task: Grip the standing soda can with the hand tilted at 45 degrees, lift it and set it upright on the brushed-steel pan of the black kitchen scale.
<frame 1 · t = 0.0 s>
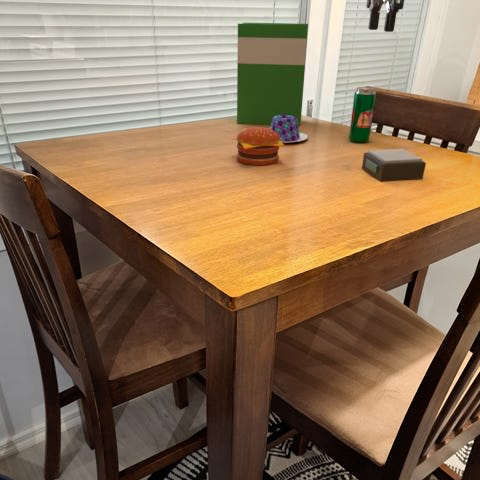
hand: (380, 30, 119), 23 cm above the table, tool pointing down, fingers open, 8 cm apart
soda can: (358, 141, 123), on the table
hamburger: (257, 160, 108), on the table
pudding: (283, 139, 124), on the table
hardback book: (269, 122, 141), on the table
scale: (391, 173, 101), on the table
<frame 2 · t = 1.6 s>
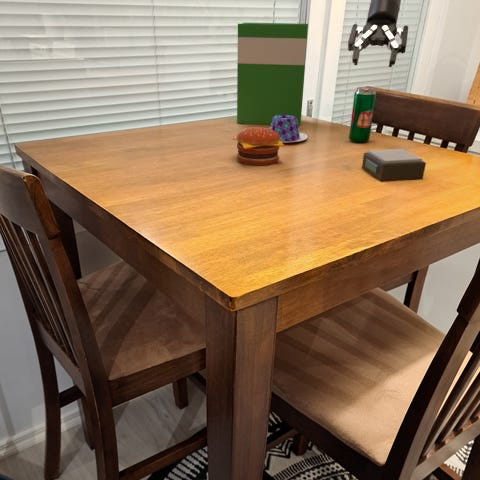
hand: (373, 63, 123), 16 cm above the table, tool tilted 45°, fingers open, 8 cm apart
nothing on the table moved.
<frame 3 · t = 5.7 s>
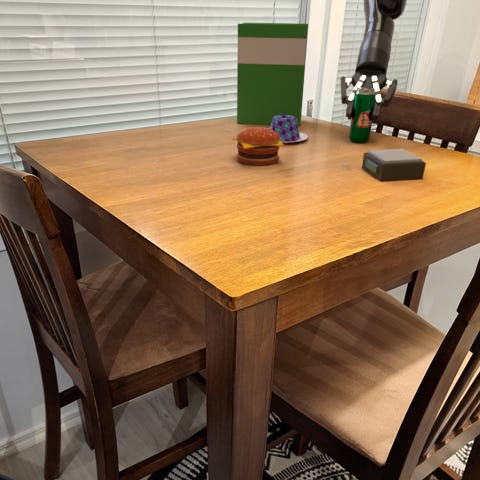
hand: (361, 118, 119), 6 cm above the table, tool tilted 45°, fingers closed on soda can, 5 cm apart
soda can: (358, 141, 123), on the table, touching gripper
everything else where it was.
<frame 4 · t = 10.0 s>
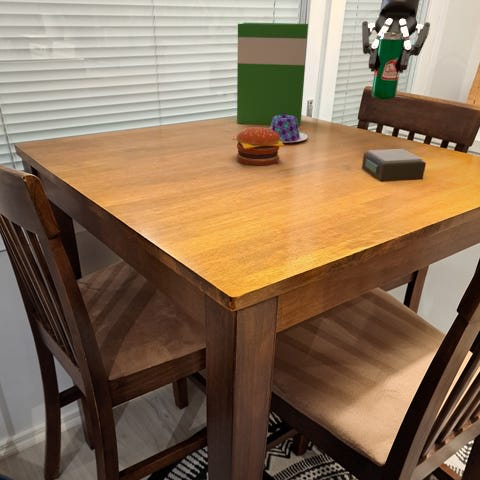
hand: (387, 69, 101), 18 cm above the table, tool tilted 45°, fingers closed on soda can, 5 cm apart
soda can: (383, 98, 105), point 12 cm above the table, touching gripper
everything else where it was.
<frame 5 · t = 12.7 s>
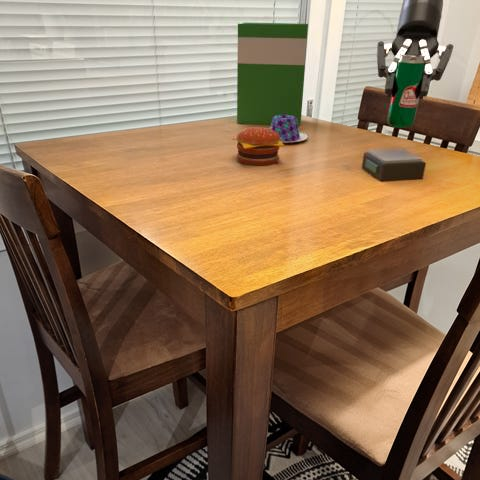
hand: (405, 95, 91), 15 cm above the table, tool tilted 45°, fingers closed on soda can, 5 cm apart
soda can: (399, 126, 96), point 9 cm above the table, touching gripper
everything else where it was.
when the fingers open (9 cm above the table, at t = 14.7 s): soda can stays where it is, resting on scale.
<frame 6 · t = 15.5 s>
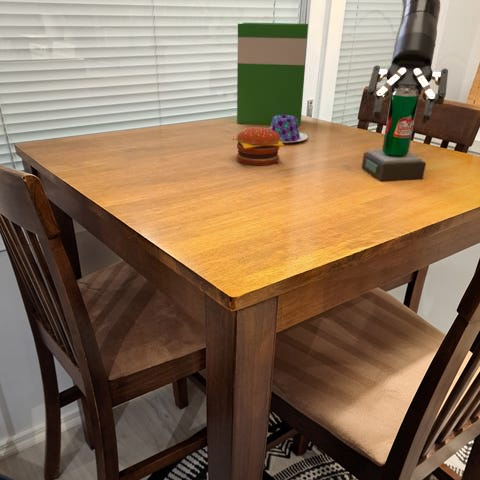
hand: (401, 119, 94), 11 cm above the table, tool tilted 45°, fingers open, 8 cm apart
soda can: (394, 155, 99), point 4 cm above the table, touching scale
everything else where it was.
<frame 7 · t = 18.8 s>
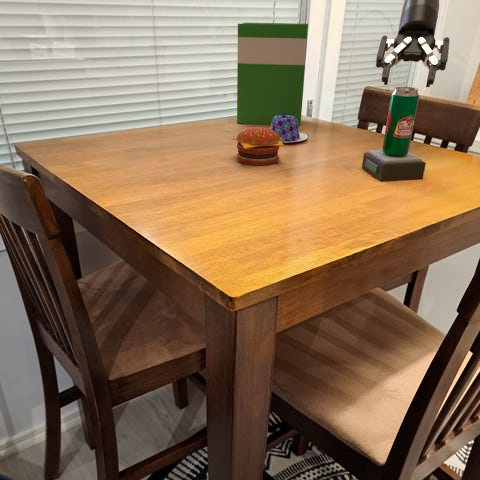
hand: (406, 83, 103), 15 cm above the table, tool tilted 45°, fingers open, 8 cm apart
nothing on the table moved.
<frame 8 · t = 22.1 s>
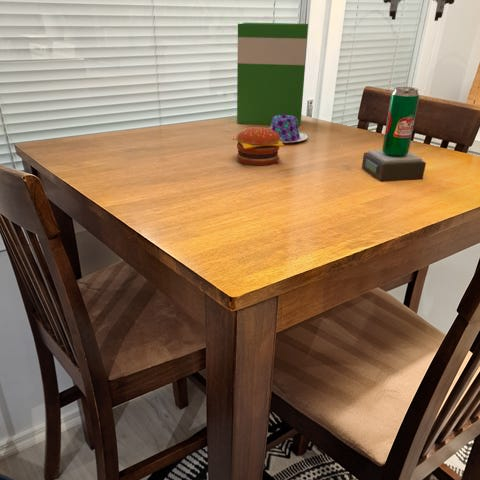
hand: (415, 17, 102), 27 cm above the table, tool tilted 45°, fingers open, 8 cm apart
nothing on the table moved.
at the end: soda can 0.1 cm off-centre on the scale, point 3.6 cm above the scale's base; soda can tilted 0°; the gripper is holding nothing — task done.
